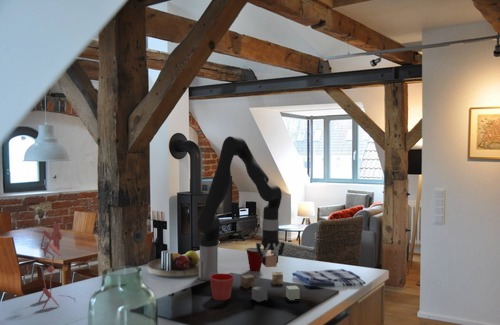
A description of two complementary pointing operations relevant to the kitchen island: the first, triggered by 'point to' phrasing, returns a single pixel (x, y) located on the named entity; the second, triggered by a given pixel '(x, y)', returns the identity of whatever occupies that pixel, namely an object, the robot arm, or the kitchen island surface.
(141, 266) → the kitchen island surface
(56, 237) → the figurine
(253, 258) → the plastic cup
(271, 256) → the terracotta cube
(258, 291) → the slate cube
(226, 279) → the flower pot
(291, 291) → the sage cube
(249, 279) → the walnut cube
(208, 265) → the robot arm
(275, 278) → the oak cube
